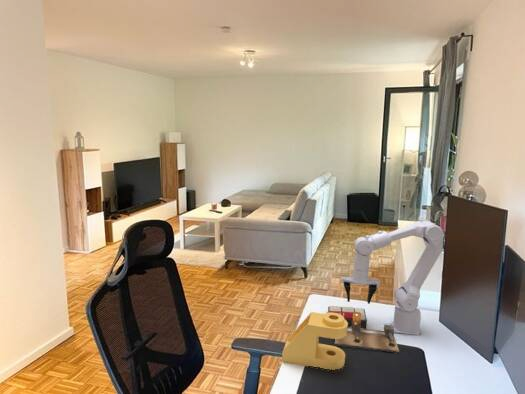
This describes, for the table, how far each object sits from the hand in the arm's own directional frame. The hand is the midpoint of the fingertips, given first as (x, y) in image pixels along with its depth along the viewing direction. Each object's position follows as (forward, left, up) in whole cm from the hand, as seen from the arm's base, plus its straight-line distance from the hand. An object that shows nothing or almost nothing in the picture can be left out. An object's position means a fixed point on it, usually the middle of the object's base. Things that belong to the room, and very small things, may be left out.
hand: (358, 301), depth 148 cm
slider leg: (+1, +10, -9) cm, 13 cm away
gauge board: (-2, +10, -10) cm, 15 cm away
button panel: (+4, -5, -11) cm, 12 cm away
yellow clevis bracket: (+16, +26, -11) cm, 33 cm away
